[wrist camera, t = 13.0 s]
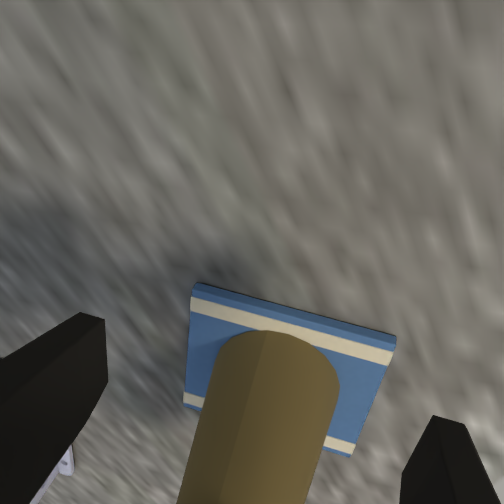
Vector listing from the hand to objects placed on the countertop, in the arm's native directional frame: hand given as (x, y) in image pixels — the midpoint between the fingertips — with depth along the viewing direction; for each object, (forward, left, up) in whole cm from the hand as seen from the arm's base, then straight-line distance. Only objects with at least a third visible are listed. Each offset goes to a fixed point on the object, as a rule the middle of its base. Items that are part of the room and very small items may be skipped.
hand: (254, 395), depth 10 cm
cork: (-9, 0, -9) cm, 13 cm away
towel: (-9, 0, -9) cm, 13 cm away
